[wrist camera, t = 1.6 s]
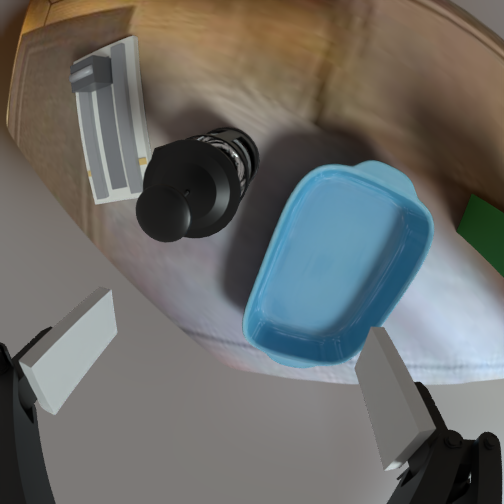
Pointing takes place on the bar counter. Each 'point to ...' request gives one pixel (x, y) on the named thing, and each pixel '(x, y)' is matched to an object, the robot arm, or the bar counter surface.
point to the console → (115, 127)
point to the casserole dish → (337, 263)
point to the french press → (196, 184)
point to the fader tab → (91, 74)
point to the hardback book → (484, 231)
